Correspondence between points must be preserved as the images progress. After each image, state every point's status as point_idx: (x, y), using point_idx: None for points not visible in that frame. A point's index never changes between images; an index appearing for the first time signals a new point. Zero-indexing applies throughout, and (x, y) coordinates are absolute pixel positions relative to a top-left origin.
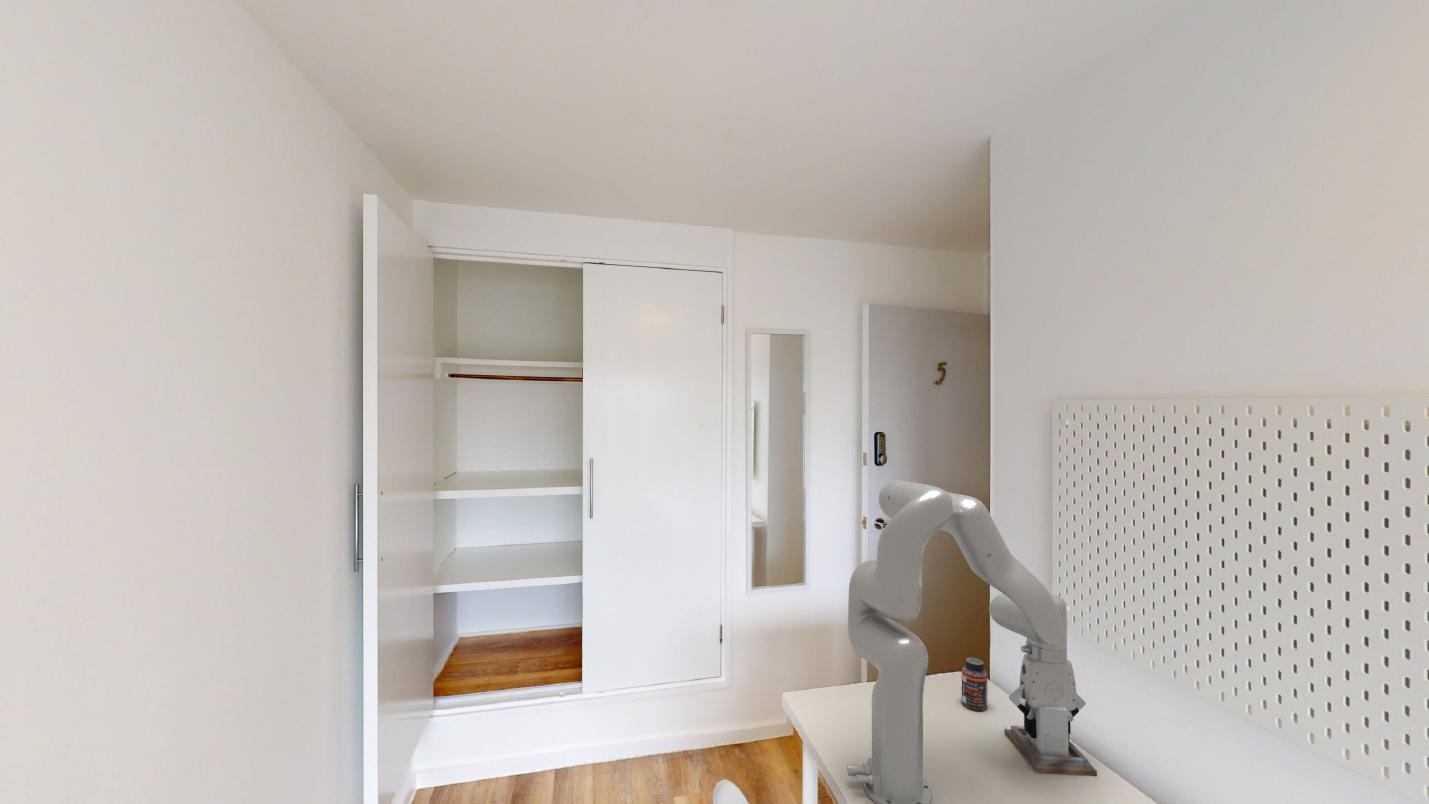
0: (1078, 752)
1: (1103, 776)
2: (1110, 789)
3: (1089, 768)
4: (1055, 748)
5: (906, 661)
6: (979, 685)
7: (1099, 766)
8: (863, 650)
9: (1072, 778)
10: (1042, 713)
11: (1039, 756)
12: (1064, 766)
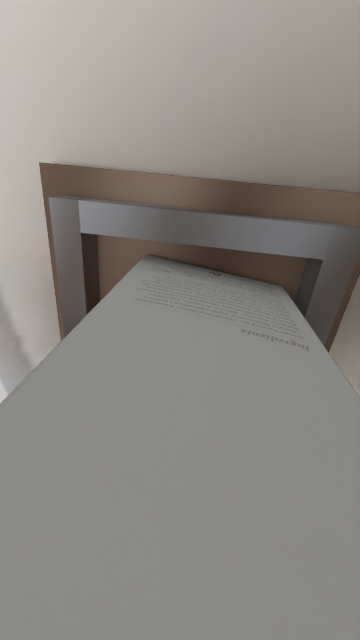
0: (69, 279)
1: (23, 162)
2: (35, 24)
3: (69, 186)
4: (210, 285)
5: None
6: None
7: (9, 243)
8: None
9: (196, 142)
10: None
11: (339, 251)
12: (199, 208)
